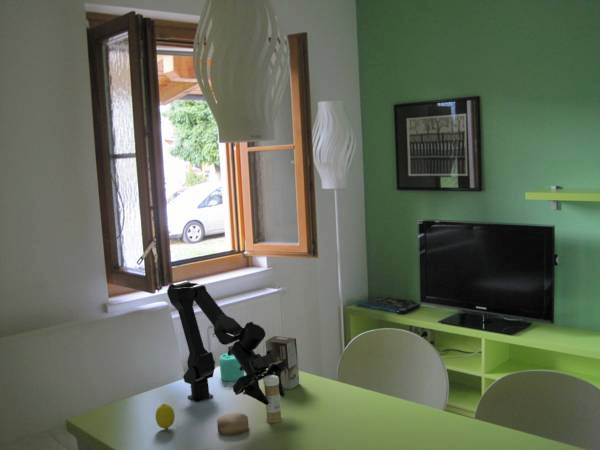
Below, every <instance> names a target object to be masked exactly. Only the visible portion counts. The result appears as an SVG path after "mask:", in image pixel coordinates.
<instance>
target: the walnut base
mask: <svg viewBox="0 0 600 450" xmlns="http://www.w3.org/2000/svg"><path fill="white" fill-rule="evenodd" d="M216 422H217V433H218V432H219V433H218V434H220V435H221V436H223V437H224V436H225V437H234V436H235V437H236V436H239V435H242V434H244V433H246V432H247V431H248V430H249V417H248V416H247V414H245V413H239V412H233V413H232V412H231V413H227V414H224V415H221V416H219V418H217V420H216Z"/></svg>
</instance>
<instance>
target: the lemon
mask: <svg viewBox="0 0 600 450" xmlns="http://www.w3.org/2000/svg"><path fill="white" fill-rule="evenodd" d="M172 407H173V406H171V405H169V404H166V403H162V404H161V405H159V406H158V407H157V409H156V411H155V421H156V424H157V426H158V427H159V428H160V429H161V428H162V429H164V430H168V429H169V428H170V427H171V426H173V425H174V422H175V418H176V416H175V411H174V409H173V408H172Z"/></svg>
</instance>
